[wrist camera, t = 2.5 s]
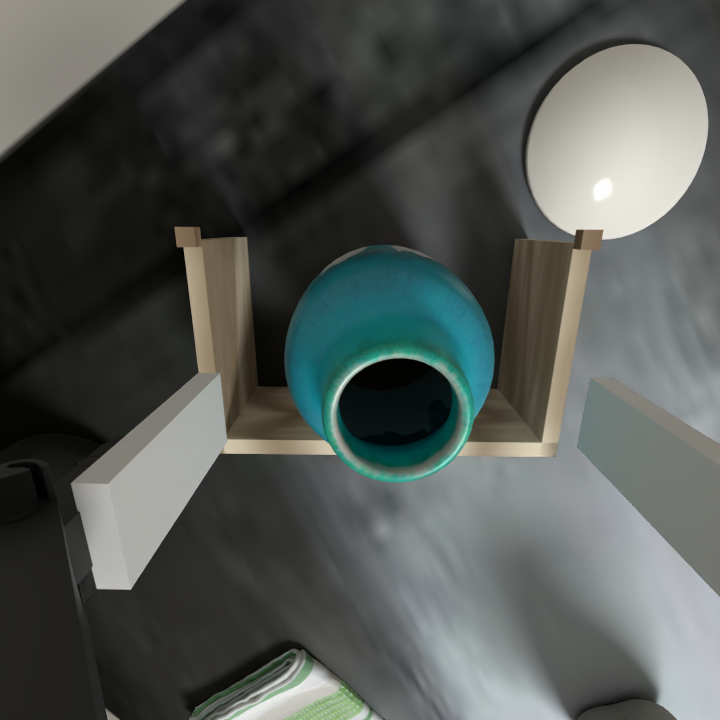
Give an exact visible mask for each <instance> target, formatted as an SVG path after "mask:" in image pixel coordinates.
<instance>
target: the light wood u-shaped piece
mask: <svg viewBox="0 0 720 720" xmlns="http://www.w3.org/2000/svg"><path fill="white" fill-rule="evenodd" d="M175 235H176V243H177V247H184V255H185V263H186V271H187V280H188V288H189V296H190V304H191V312H192V321H193V329H194V337H195V345H196V353H197V362H198V370H199V373H220V377H221V387H222V396H223V406H224V416H225V425H226V435H227V443H226V444H225V446H224V447H223V449H222V450H221V452H220V453H230V454H324V455H337V454H336V453H335V452H334V451H333V449H332V447H331V446H330V444H329V443H327V442H326V441H325V440H324V439H323V438H321V437H320V436H319V435H318V434H317V433H316V432H314V431H313V430H312V428H311V427H310V426H309V425H308V424H307V423H306V421H305V420H304V419H303V417H302V416H301V414H300V413H299V411H298V409H297V408H296V406H295V404H294V401H293V399H292V397H291V394H290V392H289V388H288V387H258V378H257V365H256V352H255V338H254V325H253V312H252V299H251V285H250V272H249V259H248V246H247V237H226V238H212V239H201V234H200V227H175ZM602 236H603V230H576V234H575V240H574V242H565V241H551V240H536V239H515V243H514V252H513V260H512V269H511V277H510V286H509V294H508V303H507V311H506V320H505V328H504V337H503V345H502V354H501V362H500V371H499V379H498V388H497V389H490V390H489V393H488V395H487V397H486V400H485V402H484V404H483V406H482V408H481V409H480V411H479V413H478V414H477V416H476V417H475V419H474V422H473V426H472V430H471V433H470V435H469V437H468V440H467V442H466V444H465V445H464V447H463V448H462V450H461V451H460V453H459V454H458V455H457V456H512V457H556V451H557V446H558V440H559V434H560V429H561V423H562V417H563V411H564V406H565V400H566V394H567V388H568V383H569V377H570V371H571V365H572V360H573V354H574V348H575V343H576V337H577V331H578V325H579V320H580V314H581V308H582V302H583V297H584V291H585V285H586V279H587V274H588V268H589V262H590V257H591V251H592V250H600V247H601V241H602Z"/></svg>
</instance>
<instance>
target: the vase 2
mask: <svg viewBox="0 0 720 720" xmlns="http://www.w3.org/2000/svg"><path fill="white" fill-rule="evenodd" d="M577 720H677V719H676V718H675V717H674V716H673V715H672V714H671V713H670V712H669V711H668V710H666V709H665V708H664V707H662V706H660V705H658V704H656V703H654V702H652V701H648V700H641V699H633V700H626V701H623V702H619V703H616V704H611V705H604V706H598V707H594V708H591V709H588V710H587V711H585V712H583V713H582V714H581V715H580V716H579V717H578V719H577Z"/></svg>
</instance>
